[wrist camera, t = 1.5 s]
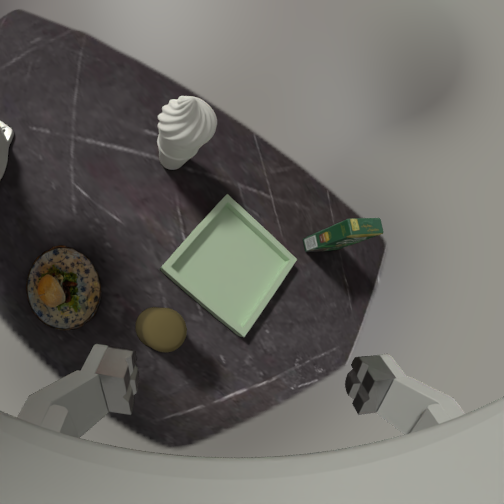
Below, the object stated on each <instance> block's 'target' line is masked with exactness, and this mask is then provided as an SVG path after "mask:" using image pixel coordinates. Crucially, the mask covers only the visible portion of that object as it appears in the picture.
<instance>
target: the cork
mask: <svg viewBox="0 0 504 504" xmlns="http://www.w3.org/2000/svg"><path fill="white" fill-rule="evenodd" d="M186 332H187V328H186V324H185V321H184V319H183V318H182V316H181V315H180V314H179V313H178V312H176V311H174V310H172V309H170V308H158V307H152V308H148V309H146V310H144V311H143V312H142V313H141V314H140V315H139V316H138V319H137V321H136V333H137V336H138V337H139V339H140V341H141V342H143V343H144V344H145V345H146V346H149V347H151V348H153V349H154V350H157V351H159V352H171V351H174V350H176V349H177V348H179V347H180V346H181V345H182V344H183V342H184V340H185V338H186Z"/></svg>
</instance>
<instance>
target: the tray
mask: <svg viewBox="0 0 504 504" xmlns="http://www.w3.org/2000/svg"><path fill="white" fill-rule="evenodd" d="M296 260H297V259H296V258H295V257H294V256H293V255H292V254H291V253H290V252H289V251H288V250H287V249H286V248H285V247H284V246H282V245H281V244H280V243H279V242H278V241H277V240H276V239H275V238H274V237H273V236H272V235H271V234H270V233H269V232H268V231H267V230H266V229H264V228H263V227H262V226H261V225H260V224H259V223H258V222H257V221H256V220H255V219H254V218H253V217H252V216H251V215H249V214H248V213H247V212H246V211H245V210H244V209H243V208H242V207H241V206H240V205H239V204H238V203H237V202H235V201H234V200H233V199H232V198H231V197H230V196H229V195H228V194H227V195H226V196H225V197H224V198H223V199H222V200H221V201H220V202H219V203H218V204H217V205H216V206H215V208H214V209H213V210H212V211H211V212H210V213H209V214H208V215H207V216H206V217H205V218H204V219H203V221H202V222H201V223H200V224H199V225H198V226H197V227H196V228H195V229H194V230H193V232H192V233H191V234H190V235H189V236H188V237H187V238H186V239H185V241H184V242H183V243H182V244H181V245H180V246H179V247H178V248H177V250H176V251H175V252H174V253H173V254H172V255H171V256H170V258H169V259H168V260H167V261H166V262H165V263H164V264H163V266H162V267H161V268H160V270H161V271H162V272H163V273H164V274H165V275H166V276H167V277H169V278H170V279H171V280H172V281H173V282H174V283H175V284H176V285H178V286H179V287H180V288H181V289H182V290H183V291H185V292H186V293H187V294H188V295H189V296H190V297H192V298H193V299H194V300H195V301H196V302H198V303H199V304H200V305H201V306H202V307H203V308H205V309H206V310H207V311H208V312H210V313H211V314H212V315H213V316H214V317H216V318H217V319H218V320H219V321H221V322H222V323H223V324H224V325H225V326H227V327H228V328H229V329H230V330H232V331H233V332H234V333H235V334H237V335H238V336H240V337H245V335H246V334H247V333H248V331H249V330H250V328H251V327H252V325H253V324H254V323H255V321H256V320H257V318H258V317H259V315H260V314H261V312H262V311H263V309H264V308H265V307H266V305H267V304H268V302H269V301H270V299H271V298H272V296H273V295H274V293H275V292H276V290H277V289H278V287H279V286H280V284H281V283H282V281H283V280H284V278H285V277H286V275H287V274H288V272H289V271H290V269H291V268H292V266H293V265H294V263H295V262H296Z"/></svg>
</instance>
